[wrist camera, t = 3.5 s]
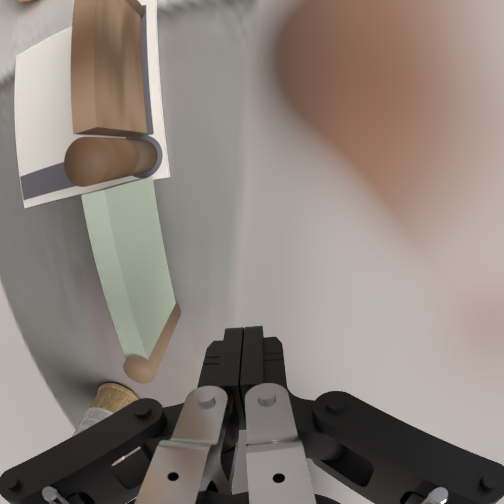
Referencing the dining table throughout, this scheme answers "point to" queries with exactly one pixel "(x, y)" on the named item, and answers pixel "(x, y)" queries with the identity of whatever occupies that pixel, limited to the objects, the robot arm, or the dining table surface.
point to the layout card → (60, 114)
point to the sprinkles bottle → (106, 406)
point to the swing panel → (133, 271)
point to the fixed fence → (107, 93)
